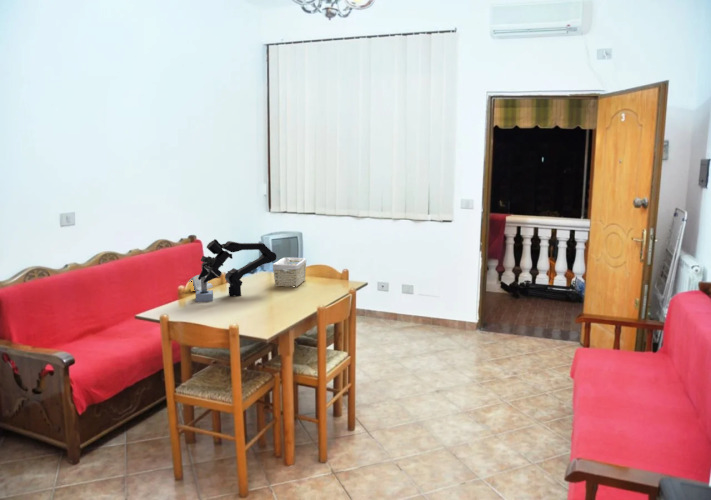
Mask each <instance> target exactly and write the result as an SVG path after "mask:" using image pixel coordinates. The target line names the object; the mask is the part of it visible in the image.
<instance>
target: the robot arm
mask: <svg viewBox="0 0 711 500" xmlns="http://www.w3.org/2000/svg"><path fill="white" fill-rule="evenodd" d="M206 249H208V251H209V252H211V253H212V254H213V255H215V256H213V257H212V256H209V255H208V256H205V255H202V257H201V259H200V261H201V262H202V263H201V264H200V265H201V266H200V268H201V270H200V274H198V275H199V277H198V279H199V280H200V279H201V277H205V276H207V277H206V278H205V280H204V281H203V282H204V283H206V282H208V281H209V282H210V281H212V280H214V279H217V278H218V277H219V278H220V277H221V276H222V271H221V270H220V268H221V267H223V266H224V263H225V262H226V261H227V260H228V259H230V260H231V259H233V253H236V252H240V251H259V252H260V253H261V254H260V256H259V257H258V258H256V259H255V260H253V261H251V262H249V263H248V264H245V265H244V266H242V267H240V268H237V269H236V268H234V267H233V268H232V269H230V270H227V272H226V273H225V276H224V279H225V280H226V282H227V283H228V285H229V287H228V295H229V297H240V296H241V297H242V289H241V288H242V285H243V281H242V280H241V279H242V277H244V276H245V275H247V274H249V273H250V272H252V271H254V270H256V269H257V268H259V267H261V266H263V265H265V264H270V263H272V262H275V261H276V260H277V254H276V253H275V252H274V251H272V250H271V249H270V248H269V247H268V246H267V245H266V244H265V243H264V242H263V243H262V242H238V241H237V242H236V241H232V240H228V241H226V242H225V243H220V242H219V241H218V240H217V239H216V238H215V239H213V240H211V241H210V242H208V244H207V245H206Z"/></svg>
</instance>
